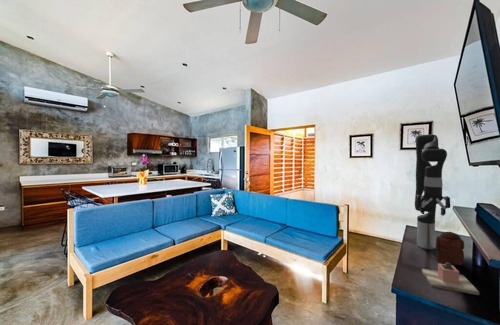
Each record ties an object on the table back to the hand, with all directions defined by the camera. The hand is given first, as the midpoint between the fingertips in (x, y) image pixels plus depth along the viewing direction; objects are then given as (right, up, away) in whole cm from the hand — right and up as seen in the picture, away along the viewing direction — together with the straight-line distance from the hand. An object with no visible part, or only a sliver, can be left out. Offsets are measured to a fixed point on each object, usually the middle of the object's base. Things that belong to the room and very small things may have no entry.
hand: (432, 214), depth 116 cm
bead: (-2, -29, -11) cm, 32 cm away
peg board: (-2, -31, -11) cm, 33 cm away
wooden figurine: (+15, -30, +6) cm, 34 cm away
